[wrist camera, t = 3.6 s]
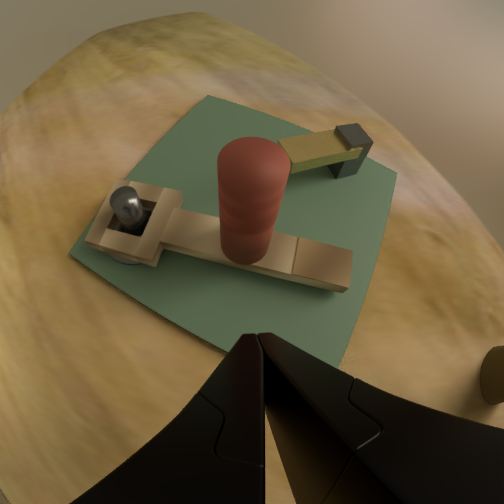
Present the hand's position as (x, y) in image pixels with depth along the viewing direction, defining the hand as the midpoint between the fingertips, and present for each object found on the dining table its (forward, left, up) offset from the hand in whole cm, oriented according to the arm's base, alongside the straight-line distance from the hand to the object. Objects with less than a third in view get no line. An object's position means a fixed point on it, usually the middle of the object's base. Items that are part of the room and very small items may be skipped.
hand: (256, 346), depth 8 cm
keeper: (+17, +1, -12) cm, 21 cm away
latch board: (+11, +5, -12) cm, 17 cm away
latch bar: (+7, +5, -10) cm, 13 cm away
